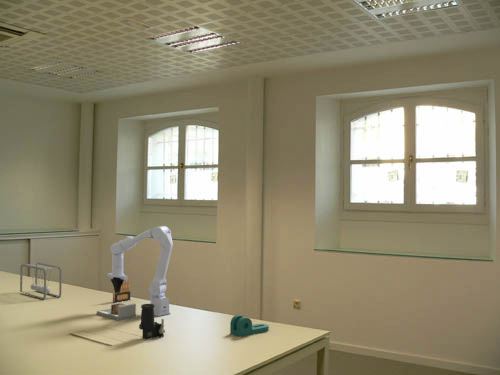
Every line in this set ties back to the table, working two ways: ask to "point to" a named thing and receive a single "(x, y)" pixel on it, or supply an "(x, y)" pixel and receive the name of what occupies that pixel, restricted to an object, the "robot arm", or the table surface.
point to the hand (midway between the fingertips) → (117, 292)
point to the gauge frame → (120, 312)
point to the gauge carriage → (115, 308)
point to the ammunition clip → (122, 293)
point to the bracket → (245, 326)
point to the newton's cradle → (40, 287)
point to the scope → (150, 323)
